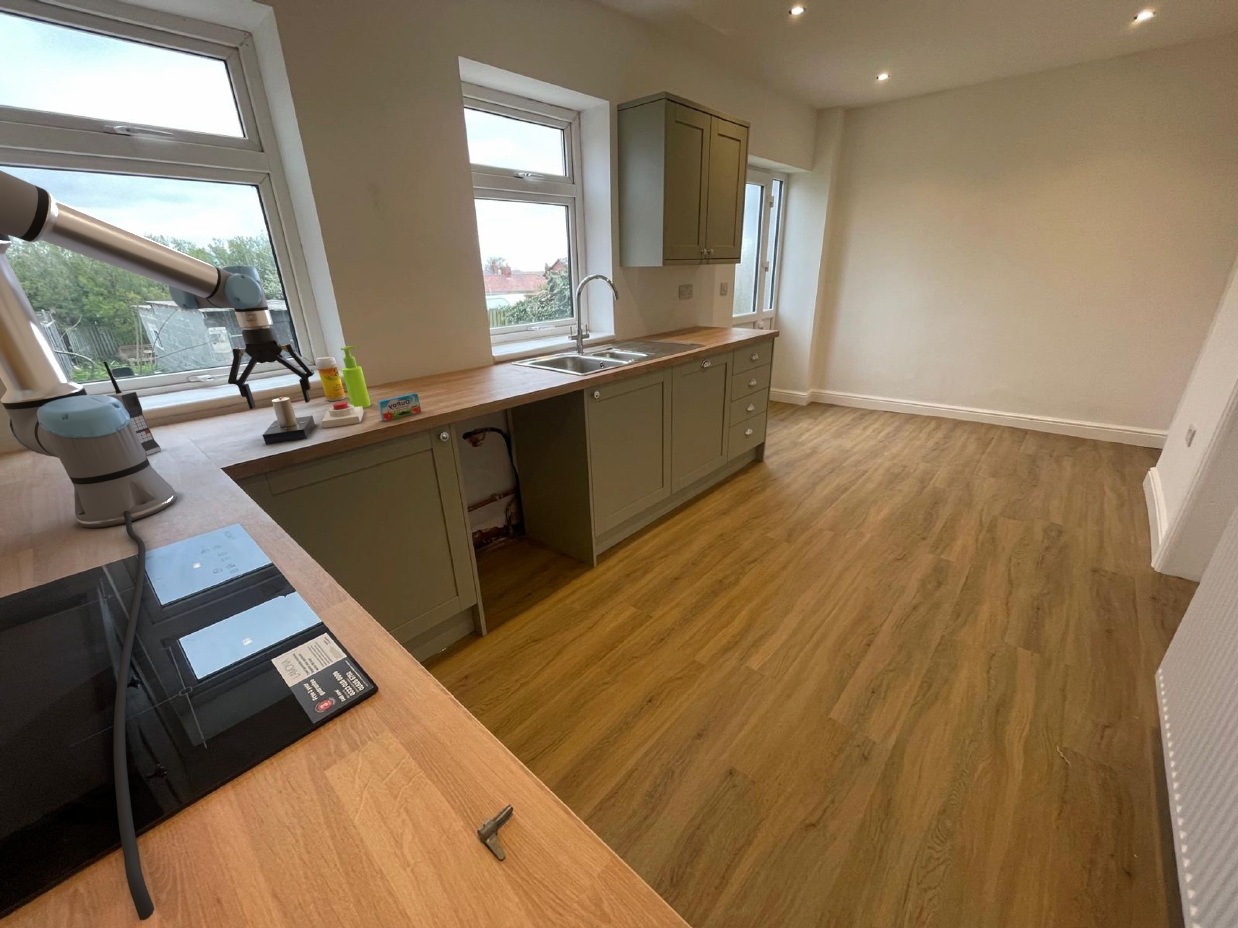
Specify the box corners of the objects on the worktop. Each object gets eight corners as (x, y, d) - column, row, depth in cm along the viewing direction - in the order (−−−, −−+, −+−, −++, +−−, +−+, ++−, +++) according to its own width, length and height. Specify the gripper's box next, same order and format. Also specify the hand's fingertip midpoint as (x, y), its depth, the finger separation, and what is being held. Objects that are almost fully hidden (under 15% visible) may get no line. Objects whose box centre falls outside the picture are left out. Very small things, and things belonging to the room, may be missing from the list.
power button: (347, 409, 154) (346, 404, 153) (333, 411, 153) (331, 406, 152) (349, 406, 157) (347, 401, 157) (335, 408, 156) (333, 402, 155)
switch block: (360, 423, 153) (356, 410, 151) (323, 428, 150) (319, 415, 148) (363, 412, 163) (360, 400, 162) (329, 417, 160) (326, 405, 158)
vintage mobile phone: (147, 455, 134) (105, 363, 124) (133, 455, 135) (90, 363, 125) (162, 450, 138) (122, 359, 128) (147, 449, 139) (107, 359, 129)
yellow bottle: (340, 401, 178) (328, 359, 172) (323, 402, 178) (311, 359, 172) (348, 396, 183) (337, 355, 177) (332, 397, 183) (321, 356, 177)
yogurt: (384, 421, 153) (379, 402, 151) (382, 420, 154) (377, 401, 151) (421, 412, 161) (417, 393, 158) (419, 411, 162) (415, 392, 159)
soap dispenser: (377, 404, 172) (362, 345, 164) (358, 409, 166) (342, 349, 159) (367, 402, 175) (352, 344, 167) (348, 407, 169) (332, 348, 162)
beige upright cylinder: (295, 425, 143) (287, 399, 140) (278, 428, 142) (269, 401, 139) (298, 421, 147) (290, 395, 144) (281, 423, 146) (273, 397, 142)
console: (306, 439, 141) (303, 428, 140) (265, 445, 138) (262, 434, 137) (315, 424, 153) (312, 415, 152) (277, 430, 150) (274, 420, 149)
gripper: (195, 333, 126) (224, 413, 134) (307, 325, 134) (327, 402, 142) (206, 329, 133) (233, 407, 141) (312, 322, 141) (331, 396, 149)
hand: (280, 404), depth 142 cm, fingers open, 13 cm apart
